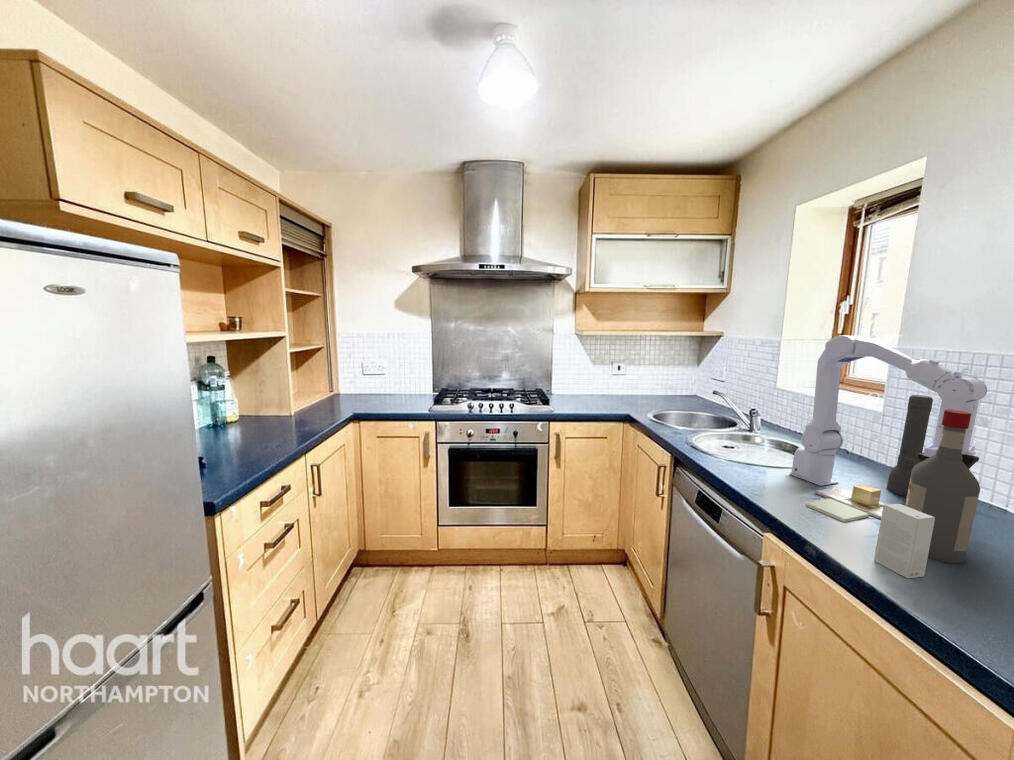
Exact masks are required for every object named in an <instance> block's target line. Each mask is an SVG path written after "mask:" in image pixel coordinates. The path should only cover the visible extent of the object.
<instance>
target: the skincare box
mask: <svg viewBox="0 0 1014 760" xmlns="http://www.w3.org/2000/svg"><path fill="white" fill-rule="evenodd" d="M887 504H888V503H887ZM934 521H935V517H933V516H930V515H927V514H925V513H922V512H920V511H917V510H915V509H912V508H909V507H907V506H905V504H904V505H903V504H901V503H894V504H892V503H891V504H888V505H883V511H882V517H881V519H880V523H879V529H878V534H877V535H878V536H877V541H876V546H875V552H874V556H873V557H874V558H873V560H874V562H875V563H878V564H880V565H881V566H882V567H884V568H887V569H889V570H891V571H893V572H894V573H896V574H898V575H900V576H902V577H904V578H906V579H914V578H922V577H925V573H926V568H927V562H928V558H929V557H928V553H929V548H930V542H931V537H932V532H933V527H934Z"/></svg>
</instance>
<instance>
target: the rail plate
mask: <svg viewBox="0 0 1014 760" xmlns="http://www.w3.org/2000/svg"><path fill="white" fill-rule="evenodd" d="M852 492H853V490H849V489H847V488H843V487H841V486H836V487H831V488H824V489H819V490H818V489H817V490H815V495H818V496H820V497H823V498H824V499H829V498H830V499H832V500H835V501H837V502H840V503H842V504H845V505H847V506H850V507H852V508H855V509H857V510H860V511H863V512H865V513H868V514H869V516H871V517H873V518H876V519H878V520H881V517H882V511H883V505H888V503H886V502H885V503H884V502H883V501H880V500H879V506H878V508H875V509H868V508H866V507H863V506H861V505H858V504H855V503H853V502H851V498H852Z"/></svg>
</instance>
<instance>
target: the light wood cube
mask: <svg viewBox="0 0 1014 760" xmlns="http://www.w3.org/2000/svg"><path fill="white" fill-rule="evenodd" d="M881 494H882V489H880V488H877V487H873V486H870V485H867V484H865V483H861V484H856V485H853V487H852V498H851V501H850V502H853V503H855V504H858V505H861V506H863V507H866V508H868V509H875V508H879V507H878V506H879V501H880V499H881Z"/></svg>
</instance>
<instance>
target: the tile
mask: <svg viewBox="0 0 1014 760" xmlns="http://www.w3.org/2000/svg"><path fill="white" fill-rule="evenodd" d="M805 506H806V507H808V508H811V509H813V510H815V511H818V512H820V513H821V514H824V515H826V516H829V517H832V518H833V519H835V520H838V521H841V522H843V523H847V522H852V521H857V520H861V519H865V518H866V519H867V518H869V516H870V515H869V514H868V513H865V512H863V511H860V510H857V509H855V508H852V507H850V506H847V505H845V504H842V503H840V502H837V501H835V500H832V499H830V498H829V499H828V498H824V499H820V500H814V501H809V502H806V503H805Z"/></svg>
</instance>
